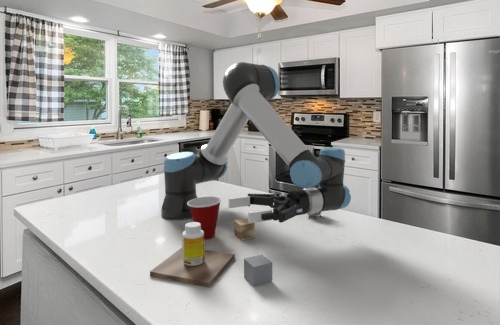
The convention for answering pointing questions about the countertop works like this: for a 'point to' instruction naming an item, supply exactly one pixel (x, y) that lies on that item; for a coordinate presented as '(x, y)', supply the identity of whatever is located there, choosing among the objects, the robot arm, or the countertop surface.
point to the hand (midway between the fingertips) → (238, 210)
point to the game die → (315, 214)
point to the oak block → (244, 229)
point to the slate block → (257, 270)
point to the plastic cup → (205, 213)
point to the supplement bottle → (193, 244)
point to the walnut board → (193, 268)
